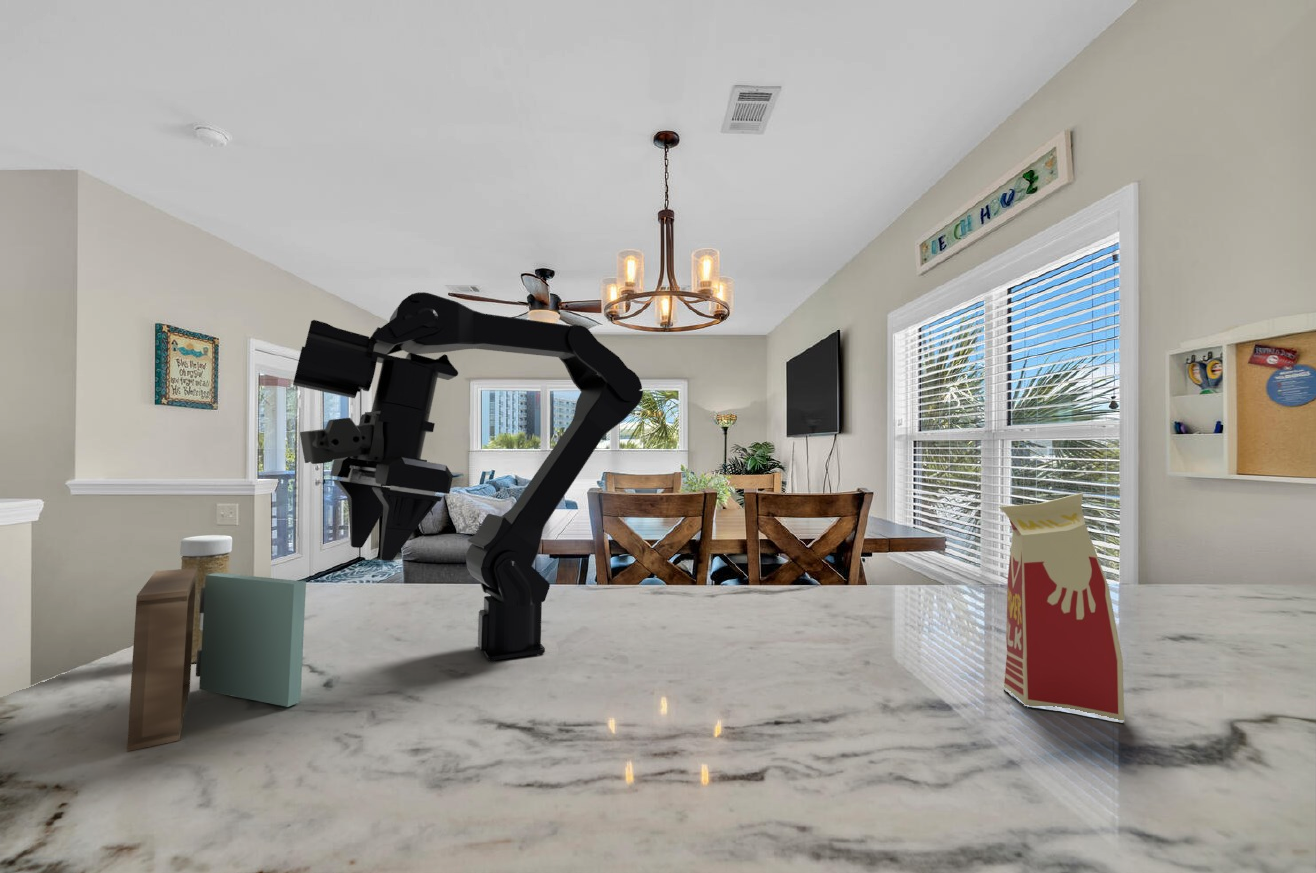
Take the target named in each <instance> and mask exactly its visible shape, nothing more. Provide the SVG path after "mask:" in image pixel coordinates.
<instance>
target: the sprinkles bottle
mask: <svg viewBox="0 0 1316 873" xmlns="http://www.w3.org/2000/svg"><path fill="white" fill-rule="evenodd" d="M179 548H180V549H179V555H180V556H182V557H181V567H180V568H181V569H191V568H197V574H196V591H195V609H194V626H193V643H192V660H191V664H193V663H196V660H197V650H198V649H201V648H202V631H203V614H204V613H199V608H200V591H201V587H204V586H205V579H206V575H209V574H215V573H226V574H230V573H229V570H230V556H231V552H232V551H233V550H232V549H233V537H232V536H231V535H223V534H208V535H206V534H205V535H195V536H189V537H184V538H183V539H181V541H180V547H179Z"/></svg>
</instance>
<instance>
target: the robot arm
mask: <svg viewBox="0 0 1316 873" xmlns="http://www.w3.org/2000/svg"><path fill="white" fill-rule="evenodd" d="M463 350H485V351H494V352H495V351H496V352H505V353H513V354H514V353H515V354H523V355H534V356H544V357H553V358H555V357H556V358H559V360H560V361H561V362H562V363H563V365H564V366H565V369H566V370H567V373H568V374H569V377H570V379H571V381H572V382H573V384H574V385H575V387H576V388H577V389H578V390H579V391H580V393H579V396H578V397H577V400H576V403H575V409H574V415H573V418H572V419H571V420H572V421H571V422H570V423H569V425H568V427H567V428H566V429H565V431H564V432H563V433H562V435H561V437H560V438H559V439H558V441H557V442H556V444H555V445H554V446H553V448H552V449H551V451H550V452H549V454H548V455H547V457H546V458H545V460H544V461H543V463H542V464H541V465H540V467H539V468H538V470H537V471H536V473H534V476H532V479H531V480H530V481H529V483H528V484H527V485H526V487H525V488H524V490H523V491H522V493H521V494H520V496H519V497H518V498H517V499H516V501H515V503H514V504H513V506H512V507H510V509H509V510H508V511H507V512H505V513H504V514H502V515H496V514H492V513H486V516H485V517H484V519H483V521H482V522H481V524H480V527H479V528H478V530H477V532H476V533H475V534H473V536H471V537H469V539H467V543H470V546H469V547H468V549H467V551H466V555H465V561H466V568H467V570H468V572H469V574H470V575H471V576H472V577H473V578H474V579H475V580H477V581H478V582H479V583H480V585H481V589H482V591H483V593H485V594H487V595H485V596H484V597H483V609H480V610H479V611H478V619H477V620H478V623H477V624H478V625H477V628H478V629H477V645H478V647H479V649H480V651H481V652H483V654H484V656H485V657H486V659H487V660H488V661H498V660H504V659H511V658H517V657H526V656H533V655H540V654H545V652H546V651H545V650H546V648H545V647H544V645H543V644H542V609H543V608H542V605H543V603H544V602H545V601H546V598H547V596H548V593H549V589H550V587H551V584H550V582H549V581H548V580H547V579H546V578H545V577H544V576H543V575H542V574H540V572H538V570H536V569H535V568H534V567H533V566H534V563H535V560H536V559H537V556H538V554H539V551H540V547H541V542H542V537H543V532H544V528H545V526H546V524H547V523H548V521H549V520H550V518H551V517H552V515H553V514H554V512H555V510H556V509H557V507H558V506H559V505H560V504H561V501H562V500H563V498H564V497H565V496H566V494H567V492H568V491H569V489H570V488H571V486H572V485H573V483H574V482H575V480H576V479H577V477H578V475H579V474H580V473H581V471H582V469H583V468H584V467H585V465H586V463H587V462H588V460H589V459H590V457H591V456H592V454H593V453H594V452H595V450H596V448H597V447H598V445H599V444H600V443H601V440H602V439H603V438H604V436H605V435H607V434H608V433H609V432H610V431H611V430H613V429H614V428H616V426H618V425H619V424H621V423H622V422H623V421H625V419H627V417H629V415H630V414H631V413H632V412H633V411H634V410H635V409H636V408H637V407H638V406H639V404H640V403H641V401H642V399H643V397H644V390H643V385H642V382H641V379H640V378H639V376H638V375H637V373H636V372H635V371H633V370H632V369H630V368H628V366H627V365H626V363H624V361H623V360H622V359H621V358H620V357H619V355H617V354H616V353H614V352H613V351H612V350H611V349H609V348H608V347H606V346H605V345H604V344H602V343H601V342H600V341H598V339H597V338H596V337H595V335H593V333H592V332H591V331H590V330H589V329H588V328H587V327H585V326H584V325H580V324H562V323H555V322H549V321H540V320H534V319H533V320H532V319H528V318H520V317H519V318H518V317H511V316H504V315H497V314H489V313H484V312H481V311H477V310H474V309H471V308H469V307H468V306H466V305H464V304H462V303H461V302H458V301H455V300H452V299H449V298H445V297H442V296H440V295H436V294H433V293H429V292H426V291H425V292H421V291H420V292H415V293H411V294H410V295H408V296H406V298H404V299H403V300H401V302H400V303H399V305H398V306H397V307H396V308H395V310H394V311H393V313H392V315H391V316H390V318H389V321H388V322H387V323H385V324H384V325H382V326H381V327H379V326H377V327H376V329H375V330H374V332H373V333H372V334H371V336H368V335H363V334H361V333H356V332H354V331H348V330H346V329H342V328H339V327H335V326H333V325H331V324H329V323H327V322H324V321H319V320H317V319H313V320H311V321H310V324H309V328H308V332H307V336H306V340H305V344H304V346H301V349H300V354H299V358H298V362H297V366H296V371H295V374H294V378H293V382H292V386H295V387H300V388H303V389H308V390H315V391H317V392H322V393H323V392H324V393H327V394H331V395H337V396H342V397H347V398H351V399H355V398H356V396H357V394H358V393H360V392H361V390H362V391H364V392H369V391H370V389H371V386H372V383H373V380H374V376H375V373H376V368H377V363H379V364H381V368H380V371H379V377H378V381H377V386H376V391H375V395H374V398H373V403H372V407H371V411H369V412H368V411H367V412H366V411H365V412H364V414H361V416H360V420H359V424H358V425H357V424H355V422H354V421H353V419H352V418H351V417H344V418H335V419H328V421H327V423H326V426H325V428H322V429H315V430H314V429H312V430H306V431H304V430H303V431H300V432H299V436H300V441H301V447H302V453H303V454H302V455H303V459H304V463H305V464H309V463H311V464H312V465H318V464H326V463H332V466H331V471H330V476H332V477H337V478H341V480H338V479H333V483H334V484H335V485H336V486H337V487H338V488H339V489H340V491H342V493H343V494H344V495H345V496H346V498H347V508H348V521H349V524H348V525H349V536H350V538H349V540H350V546H351V547H352V548H355V549H356V548H357V549H360V548H363V547H364V545H365V543H366V542H367V541H368V538H369V537H370V535H371V533H372V532H373V530H374V528H375V527H376V524H377V523H378V522H379V521H378V520H379V519H380V517H382V520H381V521H382V523H381V534H380V537H381V538H380V556H379V557H380V560H381V561H386V562H387V561H388V562H391V561H394V559H395V558H396V556H398V554H399V552H400V551H401V550H402V548H403V547H404V545H405V544H406V543H407V541H408V540H409V539H410V538H411V536H412V535H413V534H414V532H415V530H416V529H417V528H418V527H419V526H420V524H421V523H422V522H423V520H424V519H425V518H426V517H427V516H428V515H429V513H430V512H431V511H432V509H433V508H434V506H436V504H437V503H438V502H441V501H442V499H443V497H442V496H440V495H435V494H436V493H439V494H440V493H441V494H448V495H450V493H451V488H452V482H453V478H454V475H453V473H452V472H451V470H450V469H449V467H448V466H447V465H446V464H441V463H436V462H430V461H428V460H427V459H421V458H422V454H423V450H424V444H425V438H426V434H427V433H433V432H434V429H435V424H436V423H435V422H432V421H431V422H430V421H429V420H430V415H431V410H432V406H433V400H434V397H435V392H436V386H437V382H438V379H442V380H445V381H446V380H447V381H449V380H452V379H454V378H456V377H458V376H459V371H458V370H457V369H456V367H454V365H453V364H452V363H451V362H450V359H449V356H448V355H447V354H443V355H440V356H439V357H438V358H436V359H435V358H432V357H428V356H424V355H426V354H438V353H448V352H449V353H450V352H456V351H463ZM402 351H404V352H406V353H407V354H406V356H405V357H399V356H394V355H393V354H395V353H399V352H402ZM382 485H384V486H382ZM388 486H389V487H388Z"/></svg>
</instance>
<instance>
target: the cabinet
mask: <svg viewBox="0 0 1316 873" xmlns="http://www.w3.org/2000/svg"><path fill="white" fill-rule="evenodd" d="M196 574H197V568H191V569H167V570H156V571H154V573H152V575H151V576H150V577H149V579H148V580H147V581H146V582H145V584H144V585H143V587H142V588H141V589H140V591H139V592H138V593H137V595H136V600H135V601H136V603H135V616H134V617H135V618H134V635H133V648H132V663H131V676H130V678H131V679H130V680H131V681H130V695H129V696H130V697H129V710H128V711H129V712H128V725H127V726H128V727H127V743H126V752H130V751H131V752H133V751H135V750H136V751H137V750H141V749H145V748H150V747H155V746H159V745H163V744H169V743H173V742H176V741H180V736H181V732H182V728H183V723H184V720H185V719H184V718H185V714H186V709H187V706H188V700H189V696H190V689H191V675H192V674H191V673H192V663H191V660H192V643H193V626H194V609H195V591H196Z"/></svg>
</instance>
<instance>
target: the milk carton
mask: <svg viewBox="0 0 1316 873" xmlns="http://www.w3.org/2000/svg"><path fill="white" fill-rule="evenodd" d="M1083 496H1084V493H1083V492H1080V493H1076V494H1072V495H1067V496H1065V497H1060V498H1057V499H1052V500H1048V501H1044V502H1040V503H1030V504H1029V503H1028V504H1027V503H1026V504H1018V505H1017V504H1016V505H1005V506H998V508H999V509H1000V510H1001V511H1002V512H1003V513H1004V514H1005V515H1006V517H1007V518H1008V519H1009V522H1010V526H1011V528H1012V536H1011V546H1010V554H1009V564H1008V573H1007V580H1006V581H1007V584H1006V585H1007V586H1006V587H1007V588H1006V589H1007V590H1006V622H1005V623H1006V624H1005V625H1006V630H1005V638H1006V661H1005V672H1004V682H1003V688H1004V687H1005V688H1007V689H1008V690H1009V691H1011V693H1013V694H1014V695H1015V696H1016V697H1018V698H1019V699H1020V700H1021V701H1022V702H1023V703H1024V704H1025V705H1029V706H1053V707H1055V706H1057V707H1062V708H1070V709H1075V710H1080V711H1083V712H1087V713H1095V714H1098V715H1101V716H1107V717H1109V718H1114V719H1118V720H1124V721H1125V697H1124V695H1125V694H1124V691H1125V690H1124V689H1125V688H1124V660H1123V655H1122V654H1123V653H1122V650H1121V644H1120V640H1119V634H1118V629H1117V623H1116V619H1115V613H1114V607H1113V602H1112V597H1111V592H1110V586H1109V583H1108V581H1107V578H1106V576H1105V573H1104V570H1103V568H1102V564H1101V562H1100V560H1099V557H1098V555H1097V552H1096V549H1095V546H1094V544H1093V541H1092V538H1091V535H1090V532H1089V529H1088V527H1087V524H1086V520H1085V516H1084V511H1083V507H1082V504H1083V499H1084V498H1083Z"/></svg>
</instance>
